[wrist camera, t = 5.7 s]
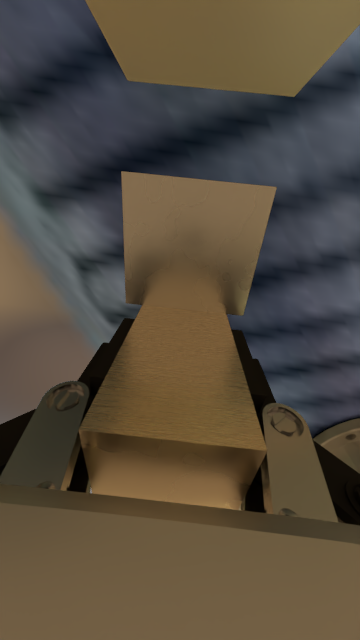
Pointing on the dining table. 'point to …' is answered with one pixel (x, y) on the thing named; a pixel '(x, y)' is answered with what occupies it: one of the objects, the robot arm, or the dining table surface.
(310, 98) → the dining table surface
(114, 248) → the dining table surface
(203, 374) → the beige boxy piece
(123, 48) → the block
